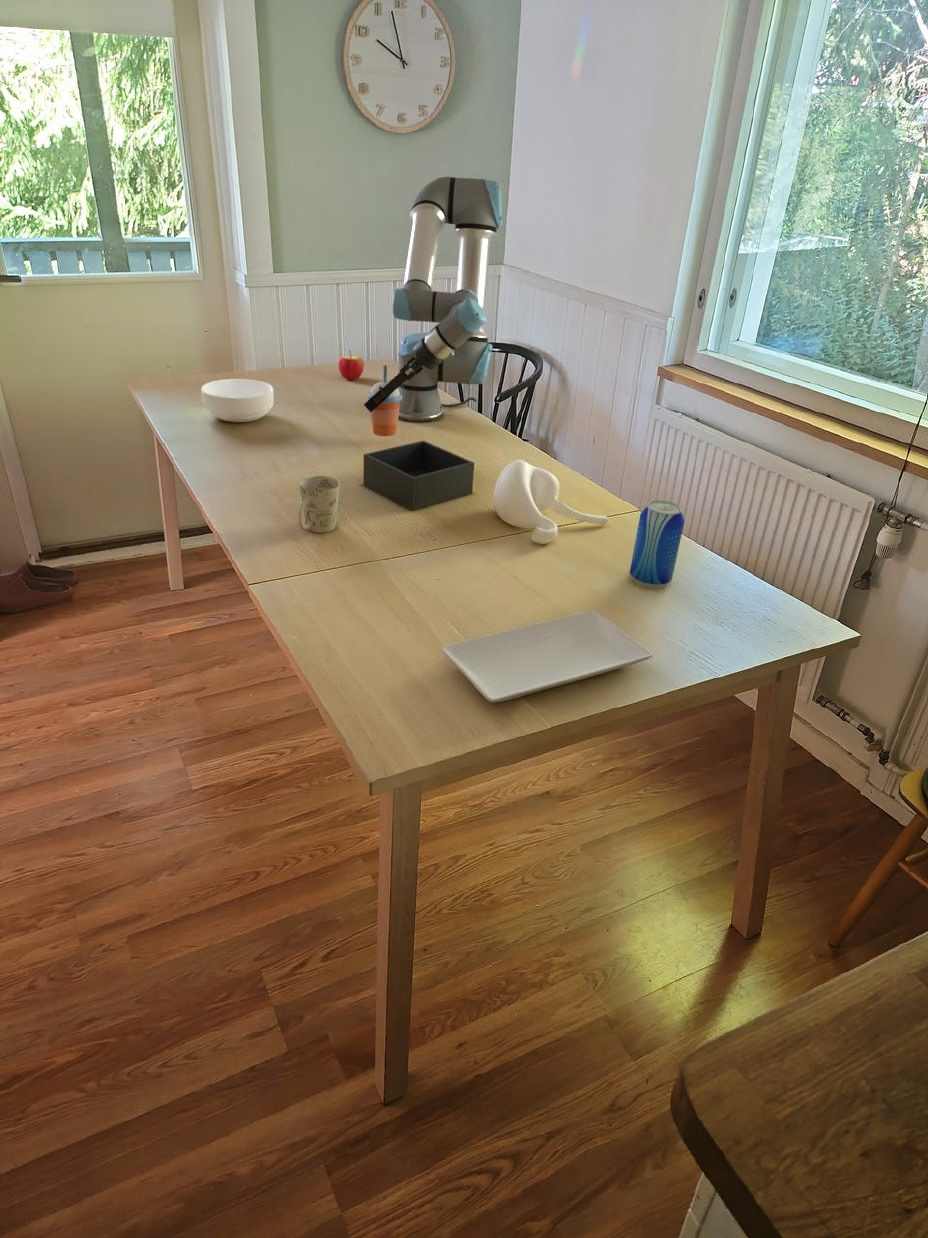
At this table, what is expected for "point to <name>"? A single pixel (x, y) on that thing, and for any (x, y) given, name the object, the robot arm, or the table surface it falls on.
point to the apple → (351, 367)
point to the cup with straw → (385, 410)
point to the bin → (418, 474)
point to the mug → (319, 503)
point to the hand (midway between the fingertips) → (373, 402)
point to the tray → (544, 655)
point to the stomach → (533, 501)
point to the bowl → (238, 399)
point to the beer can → (657, 544)
